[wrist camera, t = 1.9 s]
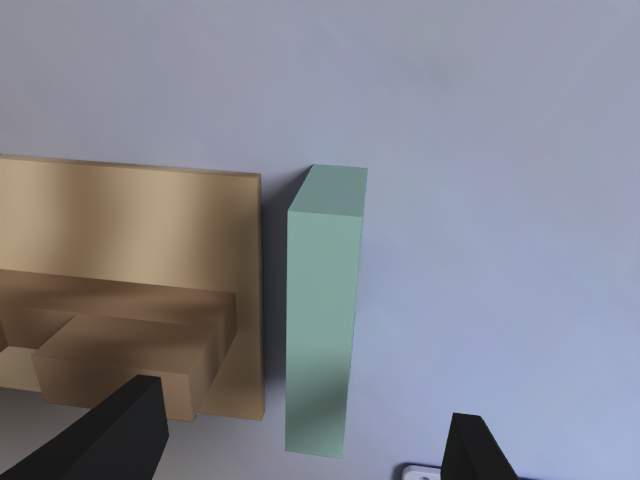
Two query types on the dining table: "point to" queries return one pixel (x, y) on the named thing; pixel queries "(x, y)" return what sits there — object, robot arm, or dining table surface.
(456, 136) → the dining table surface
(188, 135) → the dining table surface
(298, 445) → the mint green block
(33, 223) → the slotted board
